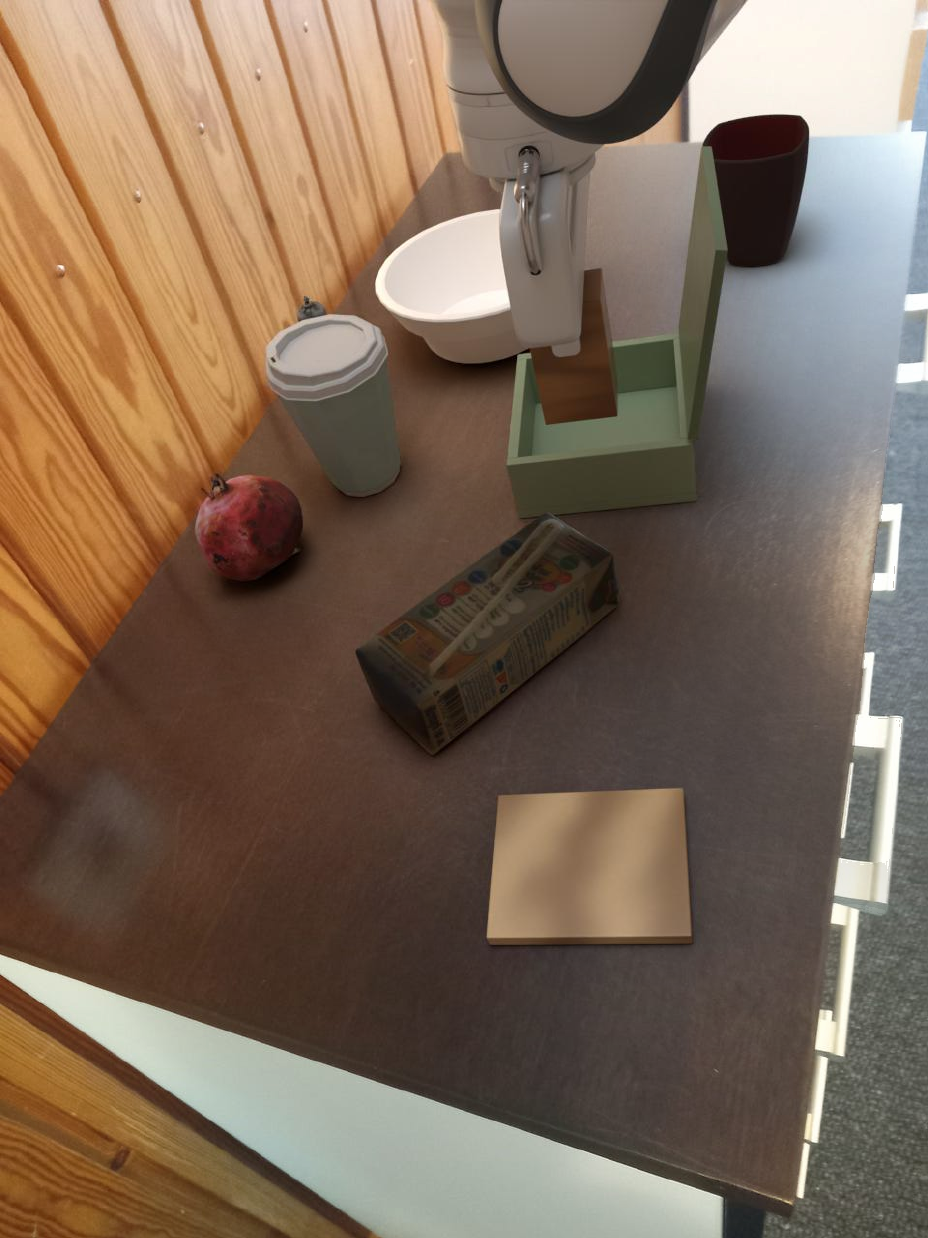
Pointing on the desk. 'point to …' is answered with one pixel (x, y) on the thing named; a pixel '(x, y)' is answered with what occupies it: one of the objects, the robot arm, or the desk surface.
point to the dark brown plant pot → (759, 183)
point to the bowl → (453, 289)
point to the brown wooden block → (581, 365)
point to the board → (590, 869)
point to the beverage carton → (488, 630)
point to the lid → (701, 290)
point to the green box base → (606, 440)
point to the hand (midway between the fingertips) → (569, 326)
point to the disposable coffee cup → (339, 398)
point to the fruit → (248, 526)
